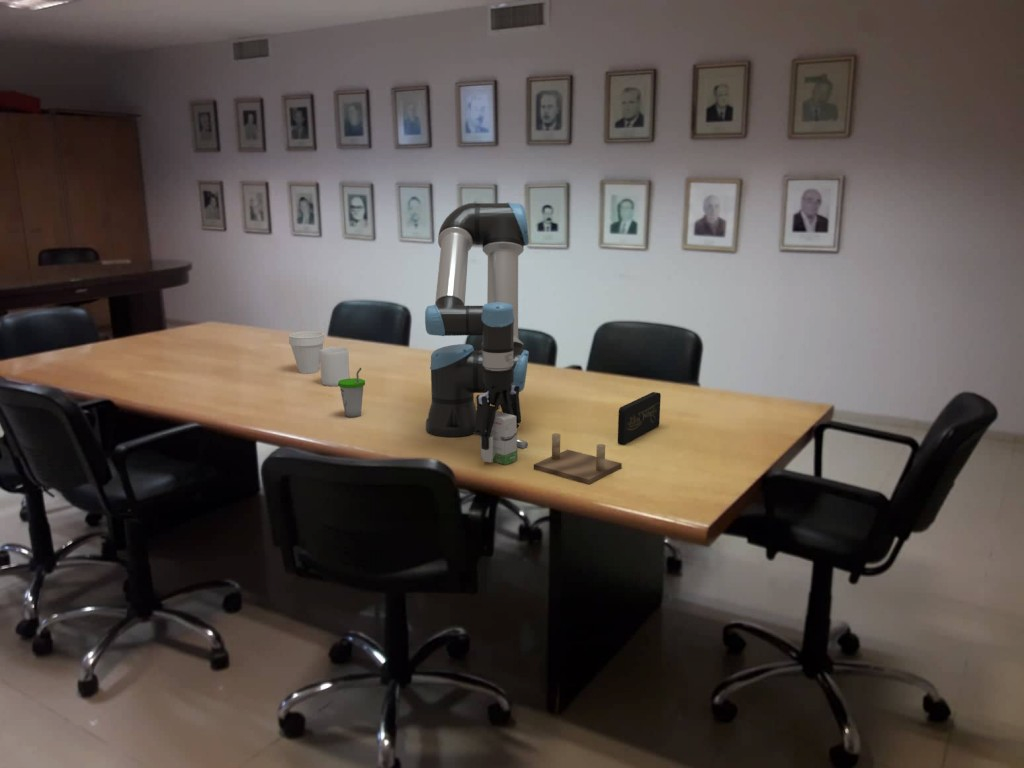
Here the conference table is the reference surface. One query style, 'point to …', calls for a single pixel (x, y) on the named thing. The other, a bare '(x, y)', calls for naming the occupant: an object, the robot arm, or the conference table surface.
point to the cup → (352, 395)
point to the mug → (334, 365)
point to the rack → (577, 463)
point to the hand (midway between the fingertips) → (498, 456)
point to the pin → (522, 444)
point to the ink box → (504, 438)
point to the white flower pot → (307, 350)
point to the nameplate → (638, 417)
